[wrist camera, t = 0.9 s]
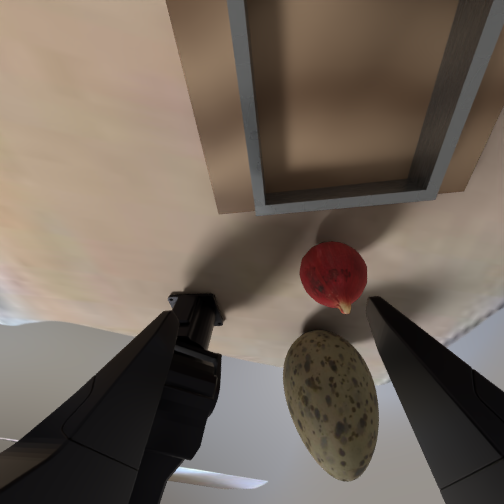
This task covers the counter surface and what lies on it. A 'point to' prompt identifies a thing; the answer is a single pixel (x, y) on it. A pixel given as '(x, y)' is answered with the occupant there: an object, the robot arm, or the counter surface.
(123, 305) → the counter surface
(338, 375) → the decorative egg
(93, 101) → the counter surface
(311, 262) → the onion
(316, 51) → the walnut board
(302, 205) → the square metal frame
